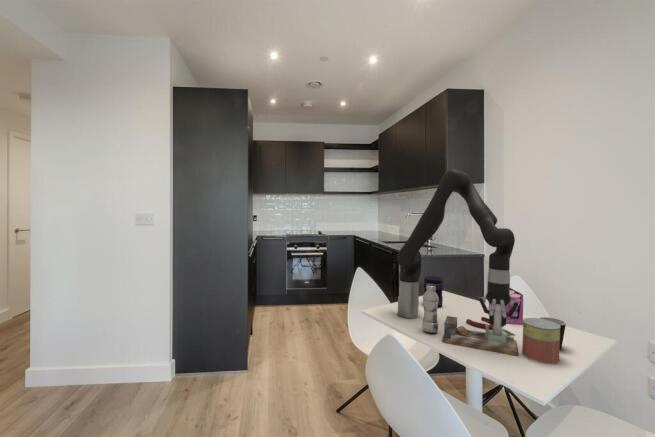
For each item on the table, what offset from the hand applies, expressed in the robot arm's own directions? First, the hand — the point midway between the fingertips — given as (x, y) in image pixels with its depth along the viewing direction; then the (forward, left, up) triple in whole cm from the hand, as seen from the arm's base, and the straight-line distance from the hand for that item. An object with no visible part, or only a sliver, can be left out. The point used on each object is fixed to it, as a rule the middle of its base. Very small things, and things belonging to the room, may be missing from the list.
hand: (497, 325), depth 125 cm
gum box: (+4, +42, -8) cm, 43 cm away
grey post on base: (-1, 0, -6) cm, 6 cm away
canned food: (+14, -2, -8) cm, 16 cm away
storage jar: (-30, +43, -8) cm, 53 cm away
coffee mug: (+19, +11, -8) cm, 23 cm away
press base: (-6, 0, -8) cm, 10 cm away
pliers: (-3, +19, -9) cm, 22 cm away
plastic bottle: (-25, +3, -8) cm, 27 cm away
